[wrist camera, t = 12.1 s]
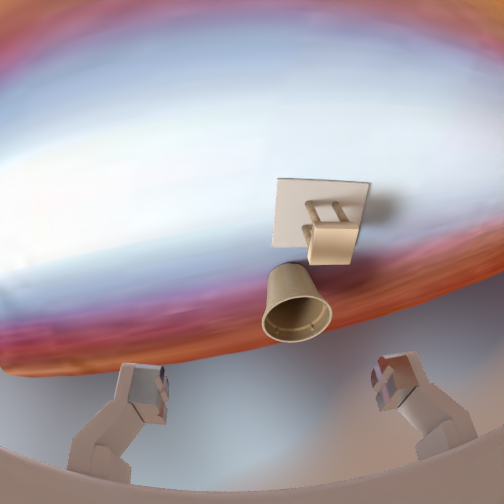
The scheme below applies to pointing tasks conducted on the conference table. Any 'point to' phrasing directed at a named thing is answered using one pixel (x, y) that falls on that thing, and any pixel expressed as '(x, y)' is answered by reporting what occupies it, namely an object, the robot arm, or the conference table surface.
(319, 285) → the conference table surface
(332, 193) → the mat
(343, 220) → the stool
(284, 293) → the flower pot
